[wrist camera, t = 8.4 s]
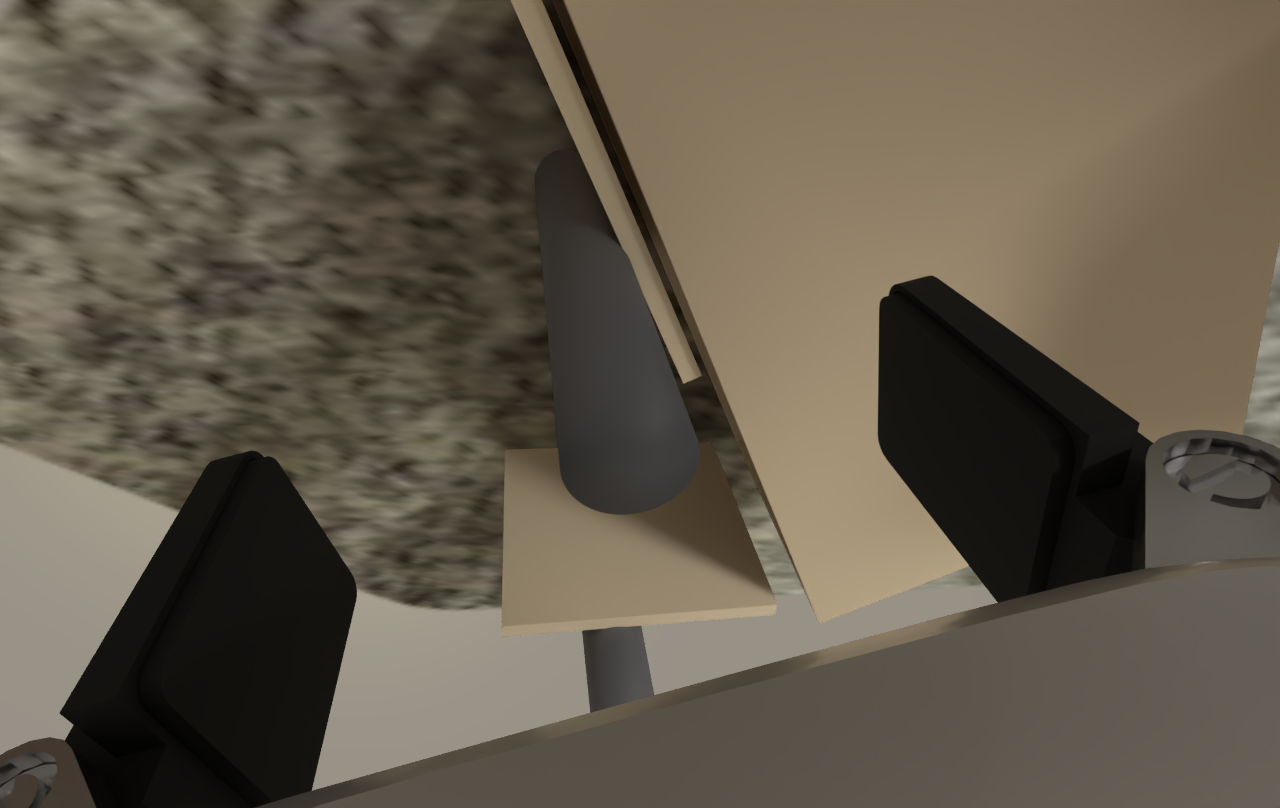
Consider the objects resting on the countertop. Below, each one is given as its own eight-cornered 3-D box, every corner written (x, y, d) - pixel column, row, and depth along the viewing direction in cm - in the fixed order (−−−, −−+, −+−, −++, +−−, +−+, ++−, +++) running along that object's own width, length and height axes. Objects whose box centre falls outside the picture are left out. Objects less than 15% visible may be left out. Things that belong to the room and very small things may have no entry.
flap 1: (526, -30, 19) (551, 7, 6) (644, 246, 24) (789, 574, 11) (449, 9, 19) (322, 121, 6) (582, 274, 24) (657, 626, 12)
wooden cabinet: (1001, -333, 17) (1439, -591, 9) (1034, 319, 29) (1237, 462, 21) (517, -83, 19) (519, -111, 10) (737, 444, 31) (819, 624, 22)
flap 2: (504, 449, 28) (497, 859, 15) (711, 442, 30) (860, 810, 17) (507, 494, 29) (501, 904, 17) (705, 484, 31) (837, 854, 18)
